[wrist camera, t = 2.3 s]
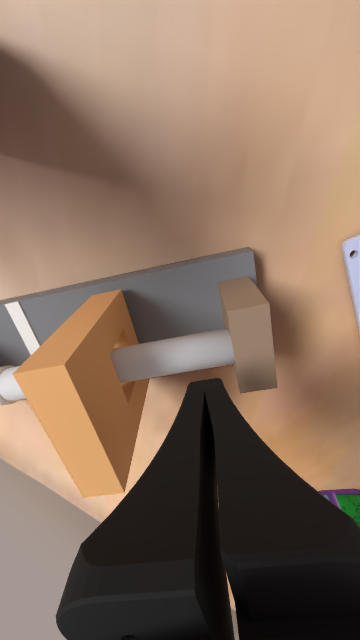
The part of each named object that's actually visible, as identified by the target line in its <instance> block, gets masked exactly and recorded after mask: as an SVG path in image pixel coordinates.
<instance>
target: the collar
mask: <svg viewBox="0 0 360 640" xmlns="http://www.w3.org/2000/svg"><path fill="white" fill-rule="evenodd" d="M137 344H139V342H138V339H137V336H136V333H135V330H134V327H133V324H132V321H131V318H130V315H129V312H128V308H127V305H126V302H125V299H124V296H123V293H122V290H121V289H120V290H115V291H110V292H105V293H100V294H96V295H92V296H91V297H90V298H89V299H88V300H87V301H86V302H85V303H84V304H83V305H82V306H81V307H80V308H79V309H78V310H77V311H76V312H75V313H74V314H73V315H72V316H70V317H69V318H68V319H67V320H66V321H65V322H64V323H63V324H62V325H61V326H60V327H59V328H58V329H57V330H56V331H55V332H54V333H53V334H52V335H51V336H50V337H49V338H48V339H47V340H46V341H45V342H44V343H43V344H42V345H41V346H40V347H39V348H38V349H37V350H36V351H35V352H34V353H33V354H32V355H31V356H30V357H29V358H28V359H27V360H26V361H25V362H24V363H23V364H22V365H21V366H20V367H19V368H18V369H17V370H16V371H15V372H14V373H13V376H14V378H15V380H16V381H17V383H18V385H19V387H20V388H21V390H22V392H23V394H24V395H25V397H26V399H27V401H28V402H29V404H30V406H31V408H32V409H33V411H34V413H35V415H36V416H37V418H38V420H39V422H40V423H41V425H42V427H43V429H44V430H45V432H46V434H47V436H48V437H49V439H50V441H51V443H52V444H53V446H54V448H55V450H56V451H57V453H58V455H59V457H60V458H61V460H62V462H63V464H64V465H65V467H66V469H67V471H68V472H69V474H70V476H71V478H72V479H73V481H74V483H75V485H76V486H77V488H78V490H79V492H80V493H81V495H82V497H83V498H85V497H93V496H102V495H110V494H119V493H124V492H125V488H126V483H127V479H128V474H129V470H130V465H131V460H132V456H133V451H134V447H135V442H136V438H137V433H138V429H139V424H140V420H141V415H142V411H143V406H144V402H145V397H146V392H147V388H148V383H149V379H150V378H147V379H141V380H135V381H129V382H123V383H120V381H119V379H118V376H117V373H116V371H115V368H114V366H113V363H112V360H111V358H110V354H111V352H112V350H113V349H115V348H120V347H126V346H131V345H137Z"/></svg>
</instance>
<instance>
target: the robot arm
mask: <svg viewBox="0 0 360 640" xmlns="http://www.w3.org/2000/svg"><path fill="white" fill-rule="evenodd" d="M353 250H354V251H355V254H354V255H353V256H352V257H350V253H351V252H352V251H353ZM342 253H343V258H344V263H345V267H346V272H347V277H348V282H349V286H350V291H351V296H352V301H353V305H354V310H355V315H356V320H357V324H358V329H359V334H360V234H359V235H357V236H354V237H352V238H349V239H347V240H346V241H345V242H344V243H343V245H342ZM217 485H218V489H217ZM218 503H219V508H218ZM226 573H227V576H228V580H229V583H230V587H231V590H232V594H233V597H234V601H235V607H236V615H237V624H238V633H239V640H360V527H359V526H358V525H357V523H356V522H355V521H354V520H353V518H352V517H351V516H349V515H348V514H347V513H345V512H344V511H342V510H341V509H340V508H338V507H337V506H336V505H334V504H333V503H332V502H330V501H329V500H328V499H326V498H325V497H324V496H323V495H321V494H320V493H319V492H318V491H316V490H315V489H314V488H313V487H311V486H310V485H309V484H308V483H307V482H305V481H304V480H303V479H302V478H301V477H300V476H298V475H297V474H296V473H295V472H294V471H293V470H292V469H291V468H290V467H289V466H287V465H286V464H285V463H284V462H283V461H282V460H281V459H280V458H279V457H278V456H277V455H276V454H275V453H274V452H273V451H272V450H271V449H270V448H269V447H268V446H267V445H266V444H265V443H264V442H263V441H262V440H261V438H260V437H259V436H258V435H257V434H256V433H255V432H254V430H253V429H252V428H251V427H250V425H249V424H248V423H247V422H246V420H245V419H244V418H243V416H242V415H241V414H240V412H239V411H238V409H237V408H236V406H235V405H234V403H233V402H232V400H231V398H230V397H229V395H228V393H227V391H226V389H225V387H224V385H223V382H222V379H220V378H215V379H209V380H203V381H196V382H190V383H189V385H188V387H187V391H186V394H185V397H184V399H183V402H182V405H181V407H180V409H179V412H178V414H177V416H176V419H175V421H174V423H173V425H172V427H171V429H170V431H169V433H168V435H167V436H166V438H165V440H164V442H163V444H162V445H161V447H160V449H159V451H158V452H157V454H156V455H155V457H154V458H153V460H152V462H151V463H150V464H149V466H148V467H147V469H146V470H145V472H144V473H143V474H142V476H141V477H140V479H139V480H138V481H137V483H136V484H135V485H134V486H133V488H132V489H131V490H130V491H129V493H128V494H127V495H126V496H125V497H124V499H123V500H122V501H121V502H120V503H119V505H118V506H117V507H116V508H115V509H114V510H113V512H112V513H111V514H110V515H109V516H108V517H107V518H106V519H105V520H104V521H103V522H102V523H101V524H100V525H99V526H98V527H97V529H95V531H94V532H93V533H92V534H91V535H90V536H89V537H88V538H87V539H86V540H85V541H84V542H83V543H82V544H81V546H80V548H79V551H78V553H77V556H76V558H75V560H74V563H73V565H72V568H71V571H70V573H69V577H68V580H67V583H66V586H65V589H64V592H63V596H62V599H61V602H60V605H59V608H58V611H57V614H56V623H57V626H58V628H59V630H60V632H61V633H62V634H63V636H64V637H65V638H66V639H67V640H235V639H234V631H233V623H232V616H231V608H230V600H229V592H228V584H227V576H226Z"/></svg>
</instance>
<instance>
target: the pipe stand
mask: <svg viewBox="0 0 360 640" xmlns="http://www.w3.org/2000/svg"><path fill="white" fill-rule="evenodd" d="M120 289H121V290H122V293H123V296H124V299H125V302H126V305H127V308H128V312H129V315H130V318H131V321H132V324H133V327H134V330H135V333H136V336H137V339H138V342H139V344H137V345H131V346H126V347H120V348H115V349H113V350H112V352H111V354H110V358H111V360H112V363H113V366H114V368H115V371H116V373H117V376H118V379H119V381H120V383H123V382H129V381H135V380H141V379H147V378H155V377H161V376H167V375H173V374H179V373H185V372H191V371H197V370H203V369H209V368H215V367H221V366H227V365H233V367H234V371H235V375H236V379H237V382H238V386H239V390H240V393H246V392H252V391H259V390H265V389H272V388H277V380H276V369H275V358H274V347H273V337H272V326H271V315H270V304H269V302H268V301H267V300H266V298H265V297H264V296H263V294H262V293H261V292H260V291H259V289H258V288H257V280H256V271H255V261H254V252H253V250H252V249H250V248H249V247H246V248H241V249H236V250H232V251H227V252H223V253H218V254H213V255H209V256H204V257H199V258H195V259H190V260H186V261H181V262H176V263H172V264H167V265H163V266H158V267H153V268H149V269H144V270H139V271H135V272H130V273H126V274H121V275H116V276H112V277H107V278H102V279H98V280H93V281H89V282H84V283H79V284H75V285H70V286H65V287H61V288H56V289H52V290H47V291H42V292H38V293H33V294H29V295H24V296H19V297H15V298H10V299H5V300H1V301H0V405H6V404H12V403H14V402H16V401H17V400H23V399H26V397H25V395H24V394H23V392H22V390H21V388H20V387H19V385H18V383H17V381H16V380H15V378H14V376H13V373H14V372H15V371H16V370H17V369H18V368H19V367H20V366H21V365H22V364H23V363H24V362H25V361H26V360H27V359H28V358H29V357H30V356H31V355H32V354H33V353H34V352H35V351H36V350H37V349H38V348H39V347H40V346H41V345H42V344H43V343H44V342H45V341H46V340H47V339H48V338H49V337H50V336H51V335H52V334H53V333H54V332H55V331H56V330H57V329H58V328H59V327H60V326H61V325H62V324H63V323H64V322H65V321H66V320H67V319H68V318H69V317H70V316H72V315H73V314H74V313H75V312H76V311H77V310H78V309H79V308H80V307H81V306H82V305H83V304H84V303H85V302H86V301H87V300H88V299H89V298H90V297H91V296H92V295H96V294H100V293H105V292H110V291H115V290H120Z"/></svg>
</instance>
